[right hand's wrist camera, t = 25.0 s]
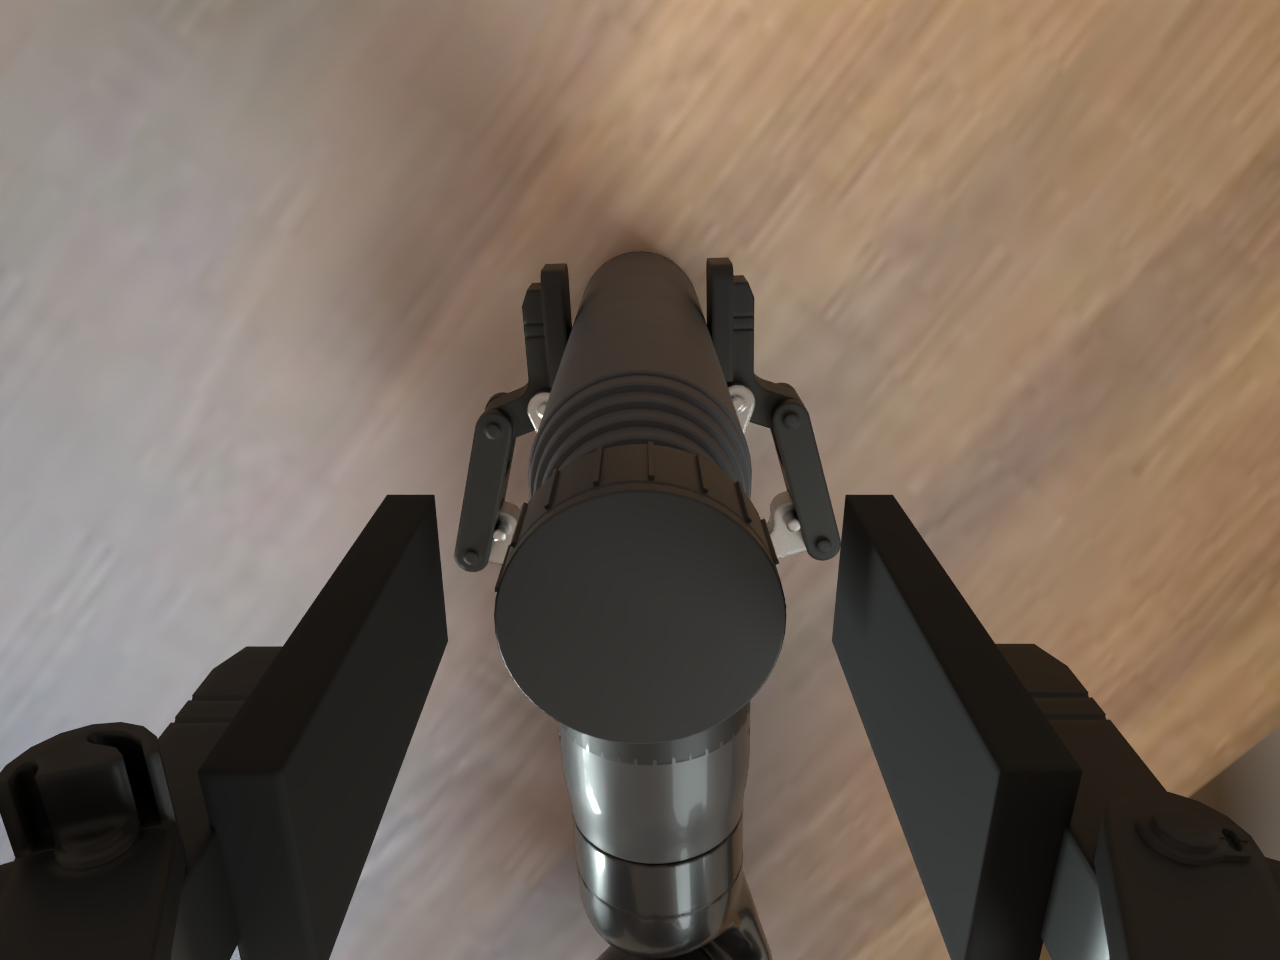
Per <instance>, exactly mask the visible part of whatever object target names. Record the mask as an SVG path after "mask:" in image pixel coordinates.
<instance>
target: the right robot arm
mask: <svg viewBox="0 0 1280 960" xmlns="http://www.w3.org/2000/svg"><path fill="white" fill-rule="evenodd" d="M447 642H448V636H447V625H446V614H445V604H444V593H443V582H442V571H441V561H440V550H439V539H438V529H437V518H436V507H435V497H434V495H387V496H386V497H385V499H384V500H383V502H382V503H381V505H380V506H379V508H378V509H377V511H376V512H375V513H374V515H373V516H372V518H371V519H370V521H369V522H368V524H367V525H366V527H365V528H364V529H363V531H362V532H361V534H360V535H359V537H358V538H357V540H356V541H355V543H354V544H353V545H352V547H351V548H350V550H349V551H348V553H347V554H346V556H345V557H344V559H343V560H342V561H341V563H340V564H339V566H338V567H337V569H336V570H335V572H334V573H333V575H332V576H331V577H330V579H329V580H328V582H327V583H326V585H325V586H324V588H323V589H322V591H321V592H320V593H319V595H318V596H317V598H316V599H315V601H314V602H313V604H312V605H311V607H310V608H309V609H308V611H307V612H306V614H305V615H304V617H303V618H302V620H301V621H300V623H299V624H298V625H297V627H296V628H295V630H294V631H293V633H292V634H291V636H290V637H289V639H288V640H287V641H286V643H285V644H284V646H283V647H245V648H244V649H242V650H241V651H239V652H238V653H236V654H235V655H233V656H232V657H230V658H229V659H227V660H226V661H224V662H223V663H221V664H220V665H218V666H217V667H215V668H214V669H213V670H212V671H211V672H210V674H209V675H208V676H207V677H206V679H205V680H204V681H203V682H202V684H201V685H200V686H199V688H198V689H197V690H196V691H195V693H194V694H193V695H192V697H193V698H192V700H188V702H187V703H186V704H185V705H184V707H183V708H182V709H181V710H180V712H179V713H178V714H177V715H176V717H175V723H170V724H169V726H168V727H167V728H166V729H165V731H164V732H163V733H162V735H161V736H160V737H159V738H158V740H157V736H155V735H154V734H153V733H151V732H150V731H149V730H148V729H146V728H145V727H144V726H139V725H134V724H129V723H123V722H116V723H104V724H92V725H89V726H85V727H81V728H78V729H74V730H71V731H67V732H63V733H60V734H58V735H56V736H54V737H52V738H50V739H48V740H45V741H43V742H41V743H39V744H37V745H35V746H33V747H31V748H29V749H28V750H26V751H25V752H24V753H22V754H21V755H20V756H18V757H17V758H15V759H14V760H13V761H11V762H10V763H9V764H7V765H6V766H5V767H4V769H3V770H2V771H1V772H0V814H1V817H2V820H3V823H4V826H5V829H6V831H7V834H8V837H9V840H10V843H11V846H12V849H13V852H14V855H15V860H14V861H13V862H9V863H6V864H3V865H0V960H230V958H231V956H232V954H233V952H234V950H235V948H236V946H237V945H238V949H239V954H240V958H241V960H329V958H330V955H331V952H332V950H333V947H334V944H335V942H336V939H337V936H338V934H339V931H340V928H341V926H342V923H343V920H344V918H345V915H346V912H347V910H348V907H349V904H350V902H351V899H352V896H353V894H354V891H355V888H356V885H357V883H358V880H359V877H360V875H361V872H362V869H363V867H364V864H365V861H366V859H367V856H368V853H369V851H370V848H371V845H372V843H373V840H374V837H375V835H376V832H377V829H378V827H379V824H380V821H381V819H382V816H383V813H384V811H385V808H386V805H387V803H388V800H389V797H390V795H391V792H392V789H393V787H394V784H395V781H396V779H397V776H398V773H399V770H400V768H401V765H402V762H403V760H404V757H405V754H406V752H407V749H408V746H409V744H410V741H411V738H412V736H413V733H414V730H415V728H416V725H417V722H418V720H419V717H420V714H421V712H422V709H423V706H424V704H425V701H426V698H427V696H428V693H429V690H430V688H431V685H432V682H433V680H434V677H435V674H436V672H437V669H438V666H439V664H440V661H441V658H442V655H443V653H444V650H445V647H446V645H447ZM832 642H833V645H834V647H835V650H836V653H837V655H838V658H839V661H840V664H841V666H842V669H843V672H844V674H845V677H846V680H847V682H848V685H849V688H850V690H851V693H852V696H853V698H854V701H855V704H856V706H857V709H858V712H859V714H860V717H861V720H862V722H863V725H864V728H865V730H866V733H867V736H868V738H869V741H870V744H871V746H872V749H873V752H874V754H875V757H876V760H877V762H878V765H879V768H880V770H881V773H882V776H883V779H884V781H885V784H886V787H887V789H888V792H889V795H890V797H891V800H892V803H893V805H894V808H895V811H896V813H897V816H898V819H899V821H900V824H901V827H902V829H903V832H904V835H905V837H906V840H907V843H908V845H909V848H910V851H911V853H912V856H913V859H914V861H915V864H916V867H917V869H918V872H919V875H920V877H921V880H922V883H923V885H924V888H925V891H926V894H927V896H928V899H929V902H930V904H931V907H932V910H933V912H934V915H935V918H936V920H937V923H938V926H939V928H940V931H941V934H942V936H943V939H944V942H945V944H946V947H947V950H948V952H949V955H950V958H951V960H1039V958H1040V954H1041V949H1042V945H1043V942H1044V944H1045V946H1046V948H1047V950H1048V952H1049V954H1050V956H1051V958H1052V960H1280V861H1277V860H1273V859H1270V858H1266V857H1265V856H1264V855H1263V853H1262V852H1261V850H1260V849H1259V847H1258V846H1257V844H1256V843H1255V841H1254V840H1253V838H1252V837H1251V836H1250V835H1249V834H1248V833H1247V832H1245V831H1244V830H1243V829H1242V828H1241V827H1239V826H1238V825H1237V824H1236V823H1235V822H1233V821H1232V820H1231V819H1230V818H1229V817H1227V816H1225V815H1224V814H1222V813H1220V812H1218V811H1216V810H1214V809H1212V808H1210V807H1208V806H1207V805H1205V804H1203V803H1201V802H1199V801H1196V800H1193V799H1190V798H1186V797H1183V796H1180V795H1177V794H1173V793H1170V792H1167V791H1166V790H1165V789H1164V787H1163V786H1162V785H1161V784H1160V782H1159V781H1158V780H1157V778H1156V777H1155V776H1154V775H1153V773H1152V772H1151V771H1150V770H1149V768H1148V767H1147V766H1146V765H1145V763H1144V762H1143V761H1142V760H1141V758H1140V757H1139V756H1138V755H1137V753H1136V752H1135V751H1134V749H1133V748H1132V747H1131V746H1130V744H1129V743H1128V742H1127V741H1126V739H1125V738H1124V737H1123V736H1122V734H1121V733H1120V732H1119V731H1118V729H1117V728H1116V727H1115V726H1114V724H1113V723H1112V722H1111V720H1106V717H1105V713H1104V712H1103V710H1102V709H1101V708H1100V707H1099V705H1098V704H1097V703H1096V702H1095V700H1094V699H1093V698H1089V697H1088V691H1087V690H1086V689H1085V688H1084V686H1083V685H1082V684H1081V683H1080V681H1079V680H1078V679H1077V678H1076V676H1075V675H1074V674H1073V673H1072V671H1071V670H1070V669H1069V668H1068V666H1066V665H1065V664H1063V663H1062V662H1060V661H1059V660H1057V659H1056V658H1054V657H1053V656H1051V655H1050V654H1048V653H1047V652H1045V651H1044V650H1042V649H1041V648H1039V647H1038V646H1036V645H1035V644H995V643H994V641H993V640H992V639H991V637H990V636H989V634H988V633H987V631H986V630H985V628H984V627H983V625H982V624H981V623H980V621H979V620H978V618H977V617H976V615H975V614H974V612H973V611H972V609H971V608H970V607H969V605H968V604H967V602H966V601H965V599H964V598H963V596H962V595H961V593H960V592H959V591H958V589H957V588H956V586H955V585H954V583H953V582H952V580H951V579H950V577H949V576H948V575H947V573H946V572H945V570H944V569H943V567H942V566H941V564H940V563H939V561H938V560H937V559H936V557H935V556H934V554H933V553H932V551H931V550H930V548H929V547H928V545H927V544H926V543H925V541H924V540H923V538H922V537H921V535H920V534H919V532H918V531H917V529H916V528H915V527H914V525H913V524H912V522H911V521H910V519H909V518H908V516H907V515H906V513H905V512H904V511H903V509H902V508H901V506H900V505H899V503H898V502H897V500H896V499H895V497H894V496H893V495H846V497H845V507H844V518H843V529H842V539H841V550H840V561H839V571H838V582H837V593H836V603H835V614H834V625H833V636H832Z"/></svg>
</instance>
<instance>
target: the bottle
mask: <svg viewBox="0 0 1280 960" xmlns="http://www.w3.org/2000/svg"><path fill="white" fill-rule="evenodd" d="M648 442H653V445H658V446H666V447H670V448H674V449H678V450H682V451H686V452H688V453H691V454H693V455H695V456H696V455H697V453H699V454H701V455H702V457H703V459H704V460H706V461H708V462H709V463H711V464H713V465H715V466H716V467H718V468H719V469H720V470H722V471H723V472H724V473H726V474H727V475H729V476H730V477H731V478H732V479H733V480H734V481H735V482H737V481H740V482H741V483H742V487H743V490H744V492H745V494H746V495H747V496H748V497H749V499H750V497H751V475H752V469H751V459H750V454H749V450H748V446H747V442H746V439H745V436H744V433H743V430H742V427H741V425H740V422H739V419H738V416H737V413H736V410H735V407H734V404H733V401H732V398H731V395H730V392H729V389H728V386H727V383H726V380H725V377H724V374H723V372H722V369H721V366H720V363H719V360H718V357H717V354H716V351H715V348H714V345H713V342H712V339H711V336H710V333H709V330H708V327H707V324H706V321H705V318H704V316H703V313H702V310H701V307H700V304H699V301H698V298H697V295H696V292H695V289H694V287H693V285H692V283H691V281H690V279H689V278H688V276H687V275H686V274H685V272H684V271H683V270H682V269H681V268H680V267H679V266H678V265H676V264H675V263H674V262H672V261H671V260H669V259H667V258H665V257H663V256H660V255H658V254H654V253H649V252H631V253H626V254H622V255H619V256H617V257H615V258H613V259H611V260H609V261H608V262H606V263H605V264H604V265H602V266H601V267H600V268H599V269H598V270H597V271H596V272H595V273H594V275H593V276H592V278H591V279H590V281H589V283H588V285H587V287H586V289H585V292H584V295H583V298H582V301H581V304H580V307H579V310H578V313H577V316H576V319H575V322H574V324H573V327H572V330H571V333H570V336H569V339H568V342H567V345H566V348H565V351H564V354H563V357H562V360H561V363H560V366H559V369H558V372H557V375H556V378H555V381H554V384H553V387H552V390H551V393H550V396H549V399H548V402H547V405H546V407H545V410H544V413H543V416H542V419H541V422H540V425H539V428H538V431H537V434H536V437H535V440H534V443H533V446H532V451H531V455H530V460H529V494H530V499H531V498H532V497H533V495H534V494H535V493H536V491H537V490H538V489H539V488H540V486H542V485H543V484H544V483H545V482H546V481H547V480H548V479H549V478H550V477H551V476H552V473H553V470H554V469H556V468H557V469H558V470H560V469H561V468H563V467H564V466H565V465H567V464H569V463H571V462H573V461H575V460H576V459H578V458H580V457H582V456H585V455H587V454H590V453H593V452H595V451H597V448H598V447H602V448H603V449H606V448H610V447H614V446H622V445H630V444H648Z"/></svg>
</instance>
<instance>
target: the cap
mask: <svg viewBox="0 0 1280 960" xmlns="http://www.w3.org/2000/svg"><path fill="white" fill-rule="evenodd" d="M776 564H779V561H778V558H777V555H776V552H775V549H774V546H773V543H772V540H771V536H770V533H769V530H768V527H767V524H766V521H765V519H762V520H761V519H760V517H759V514H758V512H757V510H756V509H755V507H754V505H753V503H752V502H751V500H750V499H749V497H748V496H747V495H746V494H745V492H744V490H743V487H742V483H741V482H740V481H737V482H735V481H734V480H733V479H732V478H731V477H730V476H729V475H727V474H726V473H724V472H723V471H722V470H720V469H719V468H718V467H716V466H715V465H713V464H711V463H709V462H708V461H706V460H704V459H703V457H702V455H701V454H699V453H697V455H696V456H695V455H693V454H691V453H688V452H686V451H682V450H678V449H674V448H670V447H666V446H658V445H653V442H648V444H630V445H622V446H614V447H610V448H606V449H603V448H602V447H598V448H597V451H595V452H593V453H590V454H587V455H585V456H582V457H580V458H578V459H576V460H575V461H573V462H571V463H569V464H567V465H565V466H564V467H563V468H561V469H560V470H558V469H557V468H556V469H554V470H553V473H552V476H551V477H550V478H549V479H548V480H547V481H546V482H545V483H544V484H543V485H542V486H540V488H539V489H538V490H537V491H536V493H535V494H534V495H533V497H532V498H531V499H530V501H529V502H528V504H526V503H524V504H523V505H522V508H521V511H520V514H519V517H518V521H517V524H516V527H515V530H514V534H513V537H512V540H511V543H510V545H508V548H507V552H506V555H505V558H504V561H503V564H502V567H501V571H500V574H499V577H498V580H497V583H496V587H495V592H497V595H496V600H495V612H494V620H495V633H496V637H497V642H498V646H499V650H500V653H501V655H502V658H503V660H504V663H505V665H506V667H507V669H508V671H509V672H510V674H511V676H512V678H513V680H514V681H515V682H516V684H517V685H518V686H519V688H520V689H521V690H522V692H523V693H524V694H525V695H526V696H527V697H528V698H529V699H530V700H531V701H532V702H533V703H534V704H535V705H536V706H537V707H538V708H540V709H541V710H542V711H543V712H545V713H546V714H547V715H548V716H550V717H551V718H553V719H555V720H556V721H558V722H559V723H561V724H563V725H565V726H567V727H569V728H571V729H573V730H575V731H577V732H580V733H583V734H586V735H589V736H592V737H595V738H598V739H603V740H607V741H612V742H620V743H629V744H651V743H661V742H668V741H673V740H678V739H682V738H686V737H689V736H692V735H695V734H698V733H701V732H703V731H705V730H707V729H709V728H712V727H714V726H716V725H718V724H719V723H721V722H723V721H724V720H726V719H727V718H729V717H731V716H732V715H733V714H735V713H736V712H737V711H738V710H740V709H741V708H742V707H743V706H745V705H746V704H747V703H748V702H749V701H750V700H751V699H752V698H753V697H754V696H755V694H756V693H757V692H758V691H759V690H760V688H761V687H762V686H763V684H764V683H765V682H766V680H767V679H768V677H769V675H770V673H771V671H772V670H773V668H774V666H775V664H776V662H777V659H778V656H779V654H780V651H781V648H782V644H783V640H784V635H785V626H786V604H785V598H784V593H783V589H782V585H781V581H780V578H779V575H778V571H777V568H776Z"/></svg>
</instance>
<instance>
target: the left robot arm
mask: <svg viewBox="0 0 1280 960" xmlns="http://www.w3.org/2000/svg"><path fill="white" fill-rule="evenodd" d="M706 276H707V327H708V330H709V333H710V336H711V339H712V342H713V345H714V348H715V351H716V354H717V357H718V360H719V363H720V366H721V369H722V372H723V374H724V377H725V380H726V383H727V386H728V389H729V392H730V395H731V398H732V401H733V404H734V407H735V410H736V413H737V416H738V419H739V422H740V425H741V427H742V430H743V433H744V435H745V432H746V429H747V426H748V424H749V422H752V423H755V424H758V425H761V426H765V427H768V428H770V429H771V433H772V436H773V440H774V444H775V448H776V451H777V455H778V459H779V462H780V466H781V470H782V474H783V477H784V481H785V485H786V488H787V491H786V492H782V493H780V494H778V495H777V496H775V497H774V499H773V500H772V502H771V505H770V511H771V516H770V519H769V521H768V523H767V527H768V530H769V533H770V536H771V540H772V543H773V546H774V549H775V552H776V555H777V558H778V559H779V558H782V557H786V556H790V555H793V554H797V553H801V552H804V551H807V552H808V554H809V555H810V556H811V557H812V558H814V559H816V560H828V559H831V558H832V557H834V556H835V555H836V554H837V553H838V551H839V550H840V546H841V541H840V537H839V533H838V529H837V525H836V521H835V517H834V513H833V509H832V505H831V501H830V497H829V493H828V489H827V485H826V481H825V477H824V473H823V469H822V465H821V461H820V457H819V453H818V449H817V445H816V441H815V437H814V433H813V429H812V425H811V421H810V417H809V414H808V411H807V410H806V408H805V406H804V404H803V403H802V401H801V399H800V398H799V396H798V394H797V393H796V391H795V389H794V388H793V387H792V386H790V385H789V384H786V383H773V382H770V381H766V380H763V379H761V378H759V377H757V376H756V375H755V374H754V296H753V294H752V291H751V289H750V286H749V283H748V281H747V280H746V279H745V277H744V276H743V275H738V276H733V266H732V263H731V261H730V260H729V258H707V265H706ZM522 310H523V322H524V333H525V344H526V355H527V366H528V377H529V381H528V383H527V384H526V385H525V386H524V387H522V388H520V389H517V390H515V391H512V392H510V393H497V394H495V395H494V396H492V397H491V398H490V400H489V401H488V403H487V405H486V408H485V411H484V413H483V414H482V415H481V416H480V418H479V419H478V421H477V423H476V427H475V433H474V439H473V445H472V451H471V457H470V463H469V469H468V475H467V481H466V487H465V493H464V499H463V506H462V512H461V518H460V524H459V530H458V536H457V542H456V548H455V555H454V556H455V561H456V563H457V564H458V566H459V567H461V568H462V569H464V570H466V571H469V572H477V571H480V570H482V569H483V568H484V567H486V565H487V563H488V562H491V563H496V564H501V565H502V564H503V561H504V558H505V555H506V552H507V548H508V545H510V543H511V540H512V537H513V534H514V530H515V527H516V524H517V521H518V517H519V514H520V510H519V508H518V507H517V506H515V505H514V504H512V503H509V502H504V500H505V495H506V490H507V484H508V479H509V473H510V468H511V462H512V457H513V452H514V446H515V441H516V437H518V436H521V435H523V434H526V433H528V432H531V431H533V430H535V431H536V433H537V431H538V428H539V425H540V422H541V419H542V416H543V413H544V410H545V407H546V405H547V402H548V399H549V396H550V393H551V390H552V387H553V384H554V381H555V378H556V375H557V372H558V369H559V366H560V363H561V360H562V357H563V354H564V351H565V348H566V345H567V342H568V339H569V336H570V333H571V330H572V321H571V307H570V293H569V278H568V268H567V264H566V263H565V264H545V266H544V267H543V269H542V270H541V283H532V284H531V285H530V287H529V288H528V290H527V292H526V295H525V299H524V302H523V305H522ZM558 725H559V736H560V747H561V757H562V766H563V773H564V777H565V781H566V785H567V789H568V792H569V796H570V800H571V805H572V811H573V825H574V836H575V848H576V860H577V869H578V878H579V886H580V893H581V897H582V902H583V905H584V909H585V911H586V914H587V916H588V918H589V920H590V922H591V924H592V925H593V927H594V928H595V930H596V931H597V932H598V934H599V935H600V936H601V937H602V938H603V939H604V940H605V941H606V942H608V943H609V944H610V945H611V946H610V947H609V948H608V949H607V950H606V951H605V952H603V953H602V954H601V955H600V956H599V957H598V958H597V959H596V960H772V955H771V951H770V948H769V945H768V942H767V939H766V936H765V934H764V931H763V928H762V925H761V922H760V919H759V917H758V914H757V910H756V907H755V904H754V901H753V897H752V895H751V892H750V890H749V887H748V884H747V882H746V879H745V876H744V873H743V870H742V862H743V797H744V791H745V785H746V780H747V775H748V768H749V752H750V701H749V702H748V703H747V704H746V705H745V706H743V707H742V708H741V709H740V710H738V711H737V712H736V713H735V714H733V715H732V716H731V717H729V718H727V719H726V720H724V721H723V722H721V723H719V724H718V725H716V726H714V727H712V728H709V729H707V730H705V731H703V732H701V733H698V734H695V735H692V736H689V737H686V738H682V739H678V740H673V741H668V742H661V743H651V744H629V743H620V742H612V741H607V740H603V739H598V738H595V737H592V736H589V735H586V734H583V733H580V732H577V731H575V730H573V729H571V728H569V727H567V726H565V725H563V724H561V723H559V722H558Z"/></svg>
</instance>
